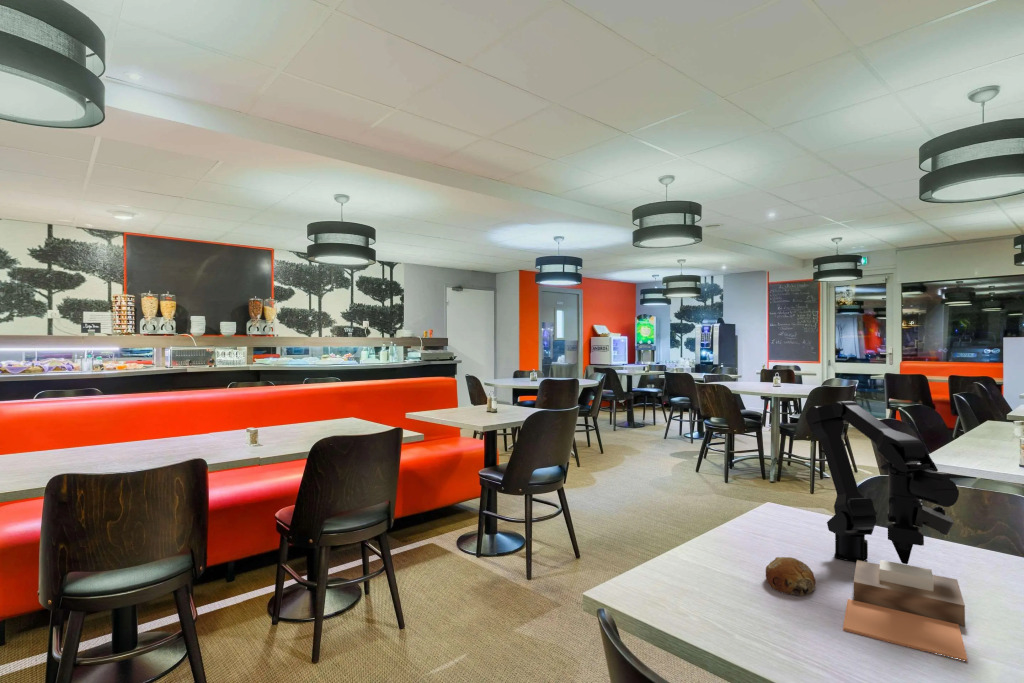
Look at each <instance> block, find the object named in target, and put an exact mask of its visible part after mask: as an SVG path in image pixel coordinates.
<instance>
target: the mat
mask: <svg viewBox="0 0 1024 683" xmlns="http://www.w3.org/2000/svg"><path fill="white" fill-rule="evenodd" d="M845 607H846V608H845V615H844V620H843V627H842V630H843V631H844V632H845V631H846V632H848V633H849V632H850V633H853V634H856V635H862V636H864V637H869V638H872V639H876V640H879V641H884V642H888V643H892V644H895V645H899V646H903V647H906V646H907V648H910V647H911V648H910V649H914V650H918V649H919V650H918V651H922V652H925V651H928V652H927V653H929V652H932V653H931V654H933V653H937V654H942V655H945V656H949V657H953V658H958V659H961V660H965V661H968V662H969V660H968V656H967V653H966V649H965V644H964V640H963V636H962V632H961V628H960V625H959V624H954V623H950V622H946V621H941V620H937V619H933V618H929V617H924V616H920V615H916V614H911V613H907V612H903V611H898V610H894V609H890V608H885V607H881V606H877V605H872V604H868V603H864V602H859V601H855V600H854V599H850V598H847V601H846V606H845ZM937 654H936V655H937ZM945 656H944V657H945Z"/></svg>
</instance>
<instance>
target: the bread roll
mask: <svg viewBox="0 0 1024 683" xmlns="http://www.w3.org/2000/svg"><path fill="white" fill-rule="evenodd" d="M765 579H766V582H767V584H768V585H769V587H770V586H771V587H772V588H771V587H770V588H771V589H773V588H774V589H773V590H775V591H777V592H779V593H782V592H783V594H785V593H786V595H791V594H792V596H800V597H801V596H806V595H809V594H811V593H812V592H813V591H814V589H815V590H816V578H815V575H814V572H813V571H812V569H811V568H810V567H809V565H807V564H806V563H804V562H803V561H801V560H799V559H797V558H794V557H791V556H789V557H787V556H786V557H785V556H779V557H778V556H777V557H775V558H774V560H772V561H770V562H769V564H768V565H767V566H766V567H765Z"/></svg>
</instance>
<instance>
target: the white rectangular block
mask: <svg viewBox="0 0 1024 683" xmlns="http://www.w3.org/2000/svg"><path fill="white" fill-rule="evenodd" d="M879 564H880V580H881V581H886V582H890V583H895V584H900V585H905V586H910V587H914V588H919V589H924V590H929V591H934V584H933V575H934V574H933V570H932V569H931V568H926V567H921V566H915V565H909V564H903V563H899V562H895V561H894V562H893V561H889V560H884V559H883V560H882V559H879Z"/></svg>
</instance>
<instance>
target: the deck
mask: <svg viewBox="0 0 1024 683" xmlns="http://www.w3.org/2000/svg"><path fill="white" fill-rule="evenodd" d="M855 563H856V564H855V570H854V577H853V600H855V601H859V602H864V603H868V604H872V605H877V606H881V607H885V608H890V609H894V610H898V611H903V612H907V613H911V614H916V615H920V616H924V617H929V618H933V619H937V620H941V621H946V622H950V623H954V624H959V626H961V627H966V606H965V602H964V598H963V594H962V591H961V588H960V585H959V581H958V579H957V578H953V577H952V578H951V577H946V576H940V575H936V574H932V575H933V584H934V591H929V590H924V589H919V588H914V587H910V586H905V585H900V584H895V583H890V582H886V581H881V580H880V563H879V564H878V563H873V562H868V561H865V562H864V561H859V560H857V562H855Z"/></svg>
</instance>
